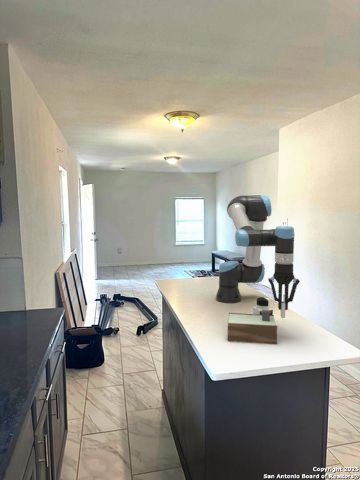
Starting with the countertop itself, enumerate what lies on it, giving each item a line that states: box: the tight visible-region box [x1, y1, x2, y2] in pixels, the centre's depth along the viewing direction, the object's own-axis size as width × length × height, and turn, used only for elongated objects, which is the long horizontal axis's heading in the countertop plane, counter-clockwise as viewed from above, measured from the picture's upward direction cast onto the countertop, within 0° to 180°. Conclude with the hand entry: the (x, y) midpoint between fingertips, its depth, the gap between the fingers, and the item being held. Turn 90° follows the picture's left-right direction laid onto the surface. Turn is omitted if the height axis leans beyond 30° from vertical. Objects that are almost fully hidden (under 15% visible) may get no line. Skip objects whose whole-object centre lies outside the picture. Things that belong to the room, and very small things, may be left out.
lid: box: [228, 310, 277, 326], centre depth 140 cm, size 12×20×5 cm, turn 79°
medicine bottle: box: [252, 296, 274, 315], centre depth 158 cm, size 7×7×12 cm
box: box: [227, 312, 278, 345], centre depth 141 cm, size 14×20×8 cm
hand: (282, 317), depth 138 cm, fingers closed
